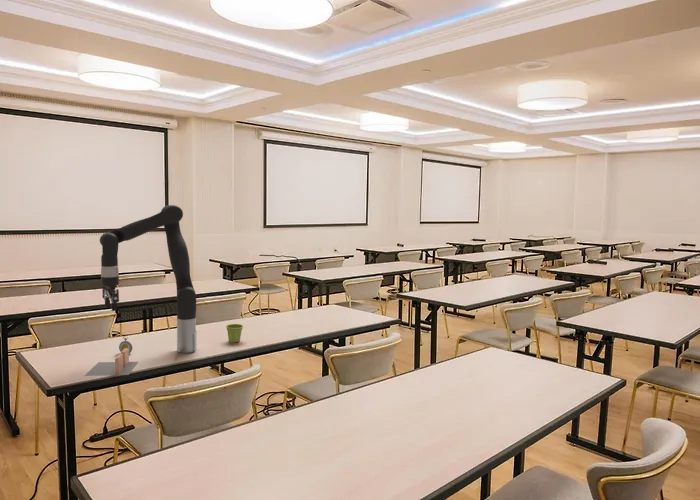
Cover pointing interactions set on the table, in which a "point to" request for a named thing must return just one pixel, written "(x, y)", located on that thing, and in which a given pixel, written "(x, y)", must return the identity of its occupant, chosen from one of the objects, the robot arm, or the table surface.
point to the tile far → (125, 356)
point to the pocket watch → (125, 345)
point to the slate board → (110, 369)
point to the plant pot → (234, 332)
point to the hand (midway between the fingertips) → (110, 309)
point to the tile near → (118, 363)
